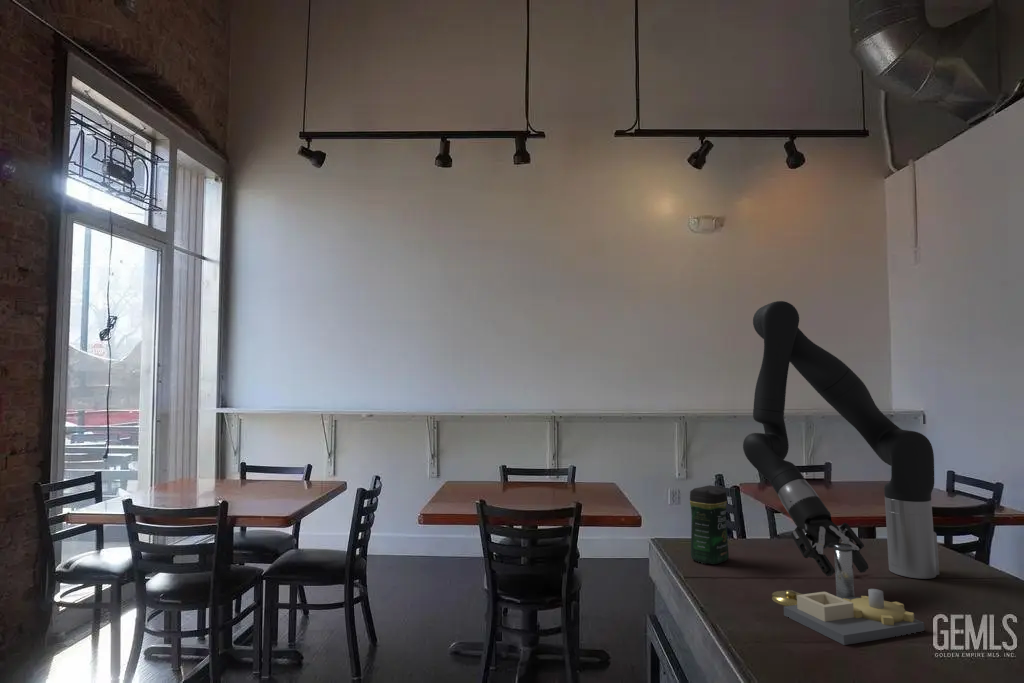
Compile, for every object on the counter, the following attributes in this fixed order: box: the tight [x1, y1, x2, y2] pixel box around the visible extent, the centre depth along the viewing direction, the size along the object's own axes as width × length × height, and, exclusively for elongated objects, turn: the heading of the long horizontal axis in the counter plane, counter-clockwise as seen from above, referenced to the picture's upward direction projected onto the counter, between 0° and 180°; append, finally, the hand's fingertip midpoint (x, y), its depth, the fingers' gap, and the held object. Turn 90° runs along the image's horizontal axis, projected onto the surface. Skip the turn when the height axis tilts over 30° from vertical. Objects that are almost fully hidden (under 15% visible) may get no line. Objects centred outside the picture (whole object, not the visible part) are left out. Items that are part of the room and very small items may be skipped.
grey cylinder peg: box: [833, 542, 855, 599], centre depth 122 cm, size 3×3×11 cm
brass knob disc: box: [771, 589, 803, 607], centre depth 121 cm, size 7×7×2 cm
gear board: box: [783, 588, 925, 646], centre depth 110 cm, size 20×14×6 cm
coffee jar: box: [689, 485, 730, 565], centre depth 151 cm, size 10×8×19 cm
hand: (848, 572), depth 121 cm, fingers open, 8 cm apart
